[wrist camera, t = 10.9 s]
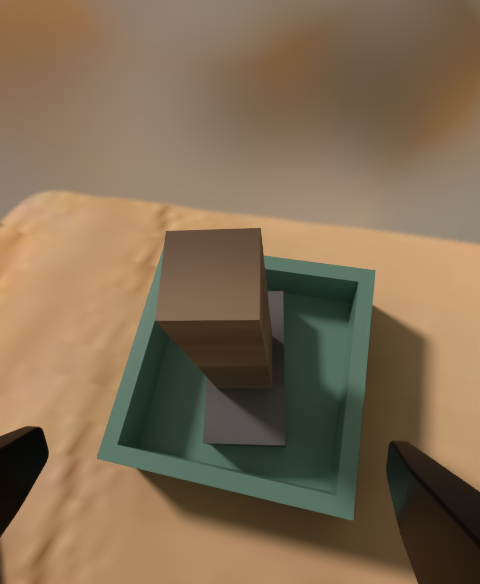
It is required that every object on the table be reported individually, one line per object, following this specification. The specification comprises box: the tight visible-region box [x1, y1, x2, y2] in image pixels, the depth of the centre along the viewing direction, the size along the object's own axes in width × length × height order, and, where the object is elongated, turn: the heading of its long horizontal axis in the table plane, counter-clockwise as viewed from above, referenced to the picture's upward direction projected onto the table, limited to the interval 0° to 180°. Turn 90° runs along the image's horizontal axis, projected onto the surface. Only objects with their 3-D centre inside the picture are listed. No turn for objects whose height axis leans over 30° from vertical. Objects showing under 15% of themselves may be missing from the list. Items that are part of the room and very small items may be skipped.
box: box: [97, 247, 375, 521], centre depth 22 cm, size 12×12×4 cm
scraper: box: [155, 228, 285, 447], centre depth 17 cm, size 8×4×13 cm, turn 178°
